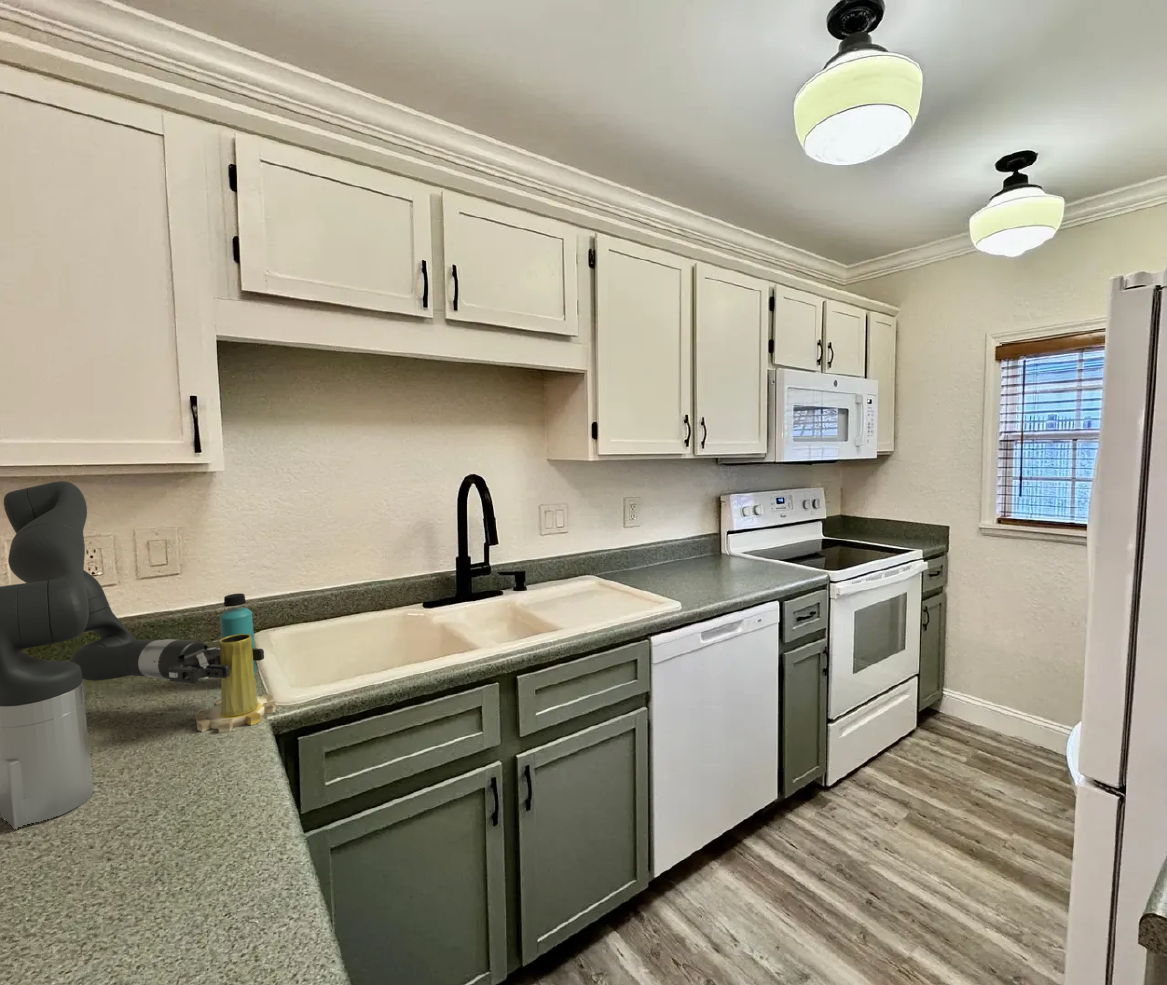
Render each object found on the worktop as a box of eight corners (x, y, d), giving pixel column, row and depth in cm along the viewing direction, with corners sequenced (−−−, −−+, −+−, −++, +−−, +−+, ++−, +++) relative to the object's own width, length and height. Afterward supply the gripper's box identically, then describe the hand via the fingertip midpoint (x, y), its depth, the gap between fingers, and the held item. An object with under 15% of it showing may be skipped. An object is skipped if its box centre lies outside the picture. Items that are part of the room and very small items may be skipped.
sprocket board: (218, 739, 99) (218, 731, 98) (182, 722, 105) (181, 715, 105) (289, 708, 110) (289, 701, 110) (252, 695, 117) (252, 688, 116)
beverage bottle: (242, 688, 120) (235, 599, 119) (216, 686, 121) (209, 598, 120) (264, 676, 126) (258, 591, 125) (240, 674, 128) (234, 590, 126)
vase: (265, 704, 109) (261, 634, 108) (238, 719, 103) (233, 644, 102) (241, 701, 110) (236, 631, 109) (213, 715, 104) (208, 642, 103)
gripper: (137, 654, 101) (213, 657, 98) (203, 629, 115) (271, 631, 112) (141, 693, 102) (216, 698, 99) (206, 663, 116) (274, 667, 113)
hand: (246, 662), depth 106 cm, fingers open, 8 cm apart
